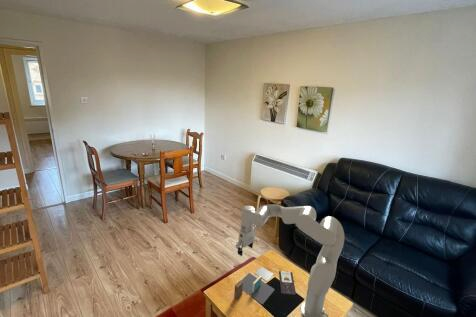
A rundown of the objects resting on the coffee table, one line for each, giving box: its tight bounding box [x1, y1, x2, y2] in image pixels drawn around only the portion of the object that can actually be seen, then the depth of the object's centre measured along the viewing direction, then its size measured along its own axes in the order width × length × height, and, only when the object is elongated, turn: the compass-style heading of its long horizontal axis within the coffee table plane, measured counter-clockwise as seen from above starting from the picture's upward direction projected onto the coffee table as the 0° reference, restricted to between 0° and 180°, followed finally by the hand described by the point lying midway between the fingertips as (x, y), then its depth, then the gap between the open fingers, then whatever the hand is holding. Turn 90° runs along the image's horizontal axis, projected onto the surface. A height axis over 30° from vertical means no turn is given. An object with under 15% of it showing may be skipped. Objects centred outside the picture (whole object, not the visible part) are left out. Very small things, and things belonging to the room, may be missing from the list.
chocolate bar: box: [278, 270, 297, 296], centre depth 155 cm, size 9×1×18 cm
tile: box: [252, 275, 262, 293], centre depth 148 cm, size 1×8×7 cm, turn 141°
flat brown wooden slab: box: [233, 279, 243, 301], centre depth 142 cm, size 2×5×10 cm, turn 141°
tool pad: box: [254, 266, 274, 282], centre depth 161 cm, size 10×8×1 cm
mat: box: [241, 272, 275, 305], centre depth 150 cm, size 20×14×1 cm
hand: (245, 250), depth 145 cm, fingers open, 9 cm apart
